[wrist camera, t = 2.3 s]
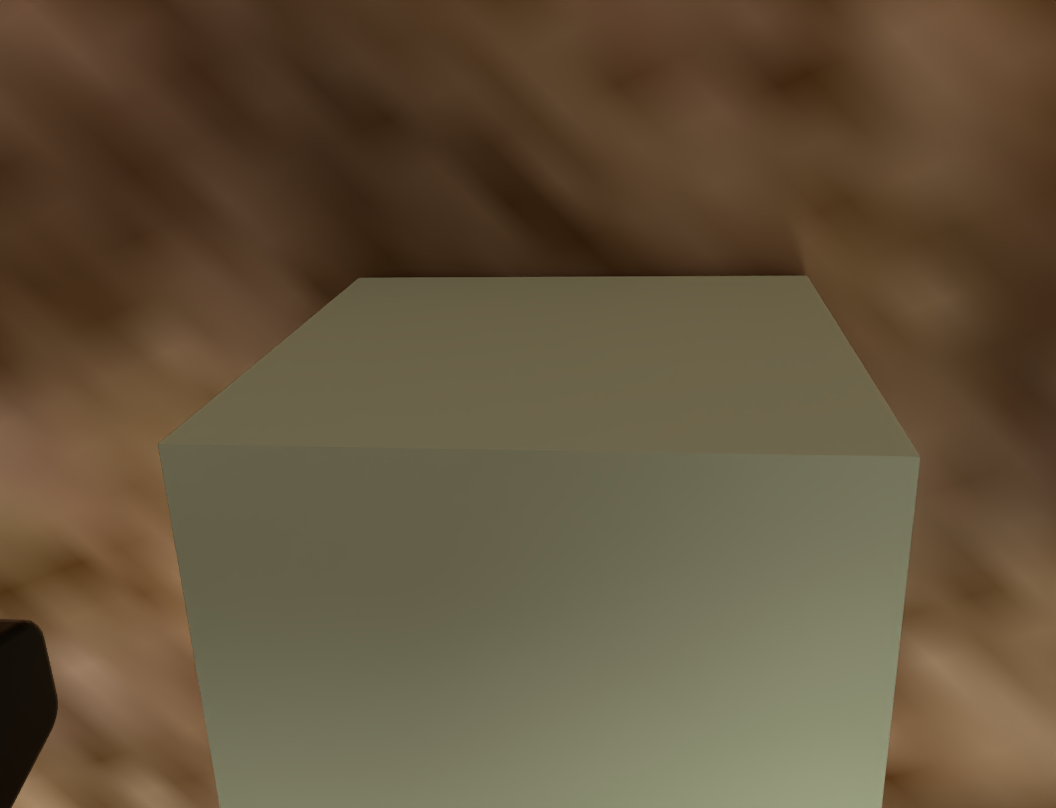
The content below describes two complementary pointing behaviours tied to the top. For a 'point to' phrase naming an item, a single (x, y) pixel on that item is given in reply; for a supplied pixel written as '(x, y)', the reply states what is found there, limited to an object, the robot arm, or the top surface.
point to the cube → (548, 550)
